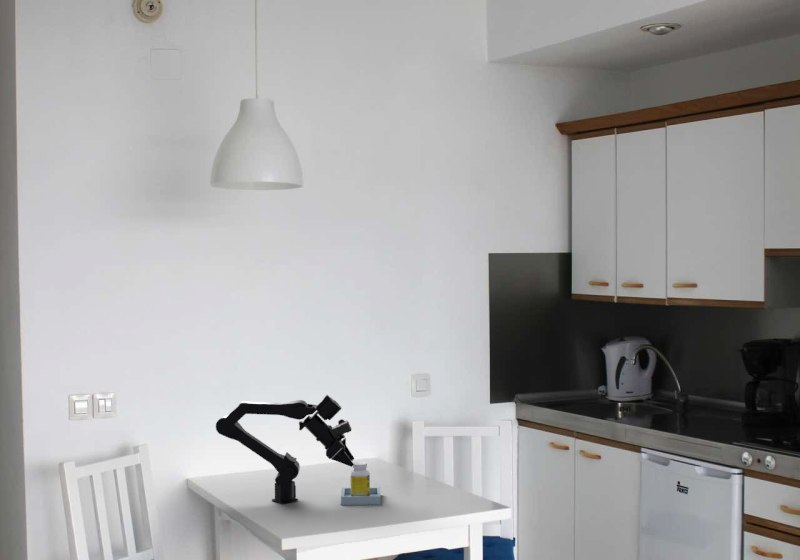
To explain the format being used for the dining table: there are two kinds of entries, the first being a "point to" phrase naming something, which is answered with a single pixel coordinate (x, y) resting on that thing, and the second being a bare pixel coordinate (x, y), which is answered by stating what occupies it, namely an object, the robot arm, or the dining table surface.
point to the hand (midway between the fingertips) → (353, 462)
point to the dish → (360, 497)
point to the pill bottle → (360, 480)
